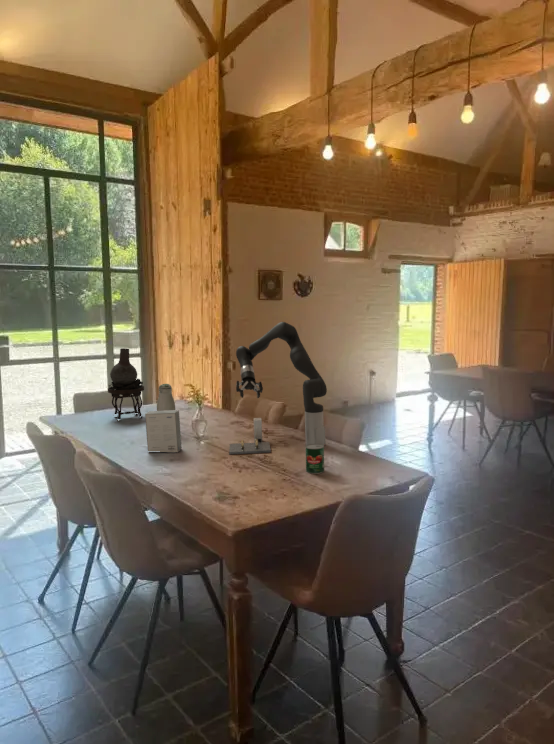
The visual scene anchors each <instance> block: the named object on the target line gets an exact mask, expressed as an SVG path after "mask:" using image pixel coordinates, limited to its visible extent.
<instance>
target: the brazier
mask: <svg viewBox="0 0 554 744" xmlns="http://www.w3.org/2000/svg"><path fill="white" fill-rule="evenodd" d="M109 375H110V376H109V377H110V380H111V381H112V382H110V384H109V385H108V388H107V393H109V394H110V395H111V398H112V399H111V404H112V406H113V408H114V414H118V415H117V419H118V418H120V419H121V417H122V415H131V414H135V413H138V417H140V416H141V415H142V413H141V407H142V405H143V399H142V396H141V395H142V392H143V391H145V386H144V385H143V384H144V381H143V380H141V379H140V378H138V371H137V369H136V367H135V366H134V365H132V363H131V361H130V348H120V349H119V361H118V362H117V364H115V365H113V366H112V368H111V370H110V374H109ZM125 398H131V400H132V404H133V409H134V410H132V411H125V412H122V404H123V400H124V399H125ZM134 398H135V399H134ZM118 399H121V400H120V404H119V407H118V403H117V401H118ZM139 400H140V401H139ZM135 401H136V403H135Z"/></svg>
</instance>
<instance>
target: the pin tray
mask: <svg viewBox="0 0 554 744" xmlns="http://www.w3.org/2000/svg"><path fill="white" fill-rule="evenodd" d="M244 441H245V440H244V439H242V440H241V442H240V443H239V442H238V443H230V444H229V447H228V448H229V449H228V450H229V453H228V454H229V455H243V454H244V455H250V454H251V455H252V454H267V453H268V454H269V453H272V449H271V444H270V441H262V442H258V439H256V440H255V441H254V442H244Z"/></svg>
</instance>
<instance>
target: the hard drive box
mask: <svg viewBox="0 0 554 744" xmlns="http://www.w3.org/2000/svg"><path fill="white" fill-rule="evenodd" d="M144 418H145V429H146V430H145V431H146V440H147V442H146V443H147V444H146V445H147V452H148V451H160V452H177V453H179V452H180V451H181V450H182V449H181V448H182V436H181V435H182V434H181V422H180V410H178V409H177V410H176V409H175V410H171V411H157V410H149V411H148V412H146V413H145V414H144ZM180 449H181V450H180ZM179 450H180V451H179ZM178 451H179V452H178Z"/></svg>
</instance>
